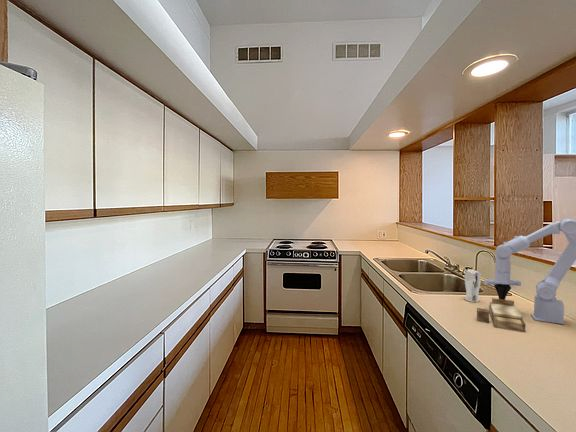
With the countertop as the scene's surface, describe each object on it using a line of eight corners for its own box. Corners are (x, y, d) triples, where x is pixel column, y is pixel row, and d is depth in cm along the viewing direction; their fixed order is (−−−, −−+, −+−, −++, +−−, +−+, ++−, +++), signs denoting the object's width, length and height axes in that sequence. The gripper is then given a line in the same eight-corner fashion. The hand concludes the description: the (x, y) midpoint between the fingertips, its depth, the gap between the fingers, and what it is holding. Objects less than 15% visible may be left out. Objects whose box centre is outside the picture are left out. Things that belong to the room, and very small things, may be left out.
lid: (515, 307, 136) (515, 300, 136) (522, 319, 123) (522, 311, 122) (489, 304, 141) (489, 297, 140) (493, 315, 127) (493, 307, 127)
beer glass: (464, 301, 154) (465, 272, 154) (463, 297, 161) (464, 269, 160) (480, 303, 151) (481, 273, 150) (479, 299, 157) (480, 270, 157)
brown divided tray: (515, 314, 136) (516, 308, 136) (525, 331, 118) (525, 324, 118) (489, 311, 141) (489, 304, 141) (494, 326, 123) (494, 319, 123)
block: (487, 319, 131) (488, 309, 131) (488, 323, 127) (489, 312, 127) (476, 318, 133) (477, 308, 132) (477, 321, 129) (477, 310, 129)
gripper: (489, 272, 137) (489, 302, 138) (525, 273, 135) (524, 304, 135) (482, 269, 144) (481, 297, 145) (516, 270, 142) (515, 299, 142)
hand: (501, 300), depth 140 cm, fingers closed
